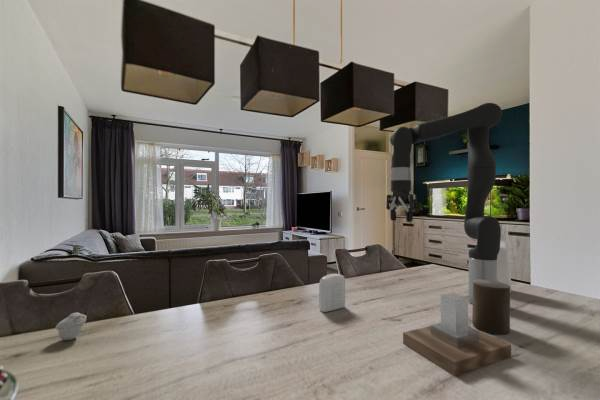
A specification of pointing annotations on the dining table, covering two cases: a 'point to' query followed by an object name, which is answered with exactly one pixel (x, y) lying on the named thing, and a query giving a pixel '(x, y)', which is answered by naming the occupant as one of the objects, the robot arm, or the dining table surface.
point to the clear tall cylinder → (503, 262)
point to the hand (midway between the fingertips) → (401, 221)
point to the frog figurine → (71, 326)
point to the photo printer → (331, 292)
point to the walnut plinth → (457, 350)
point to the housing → (454, 322)
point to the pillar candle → (491, 306)
